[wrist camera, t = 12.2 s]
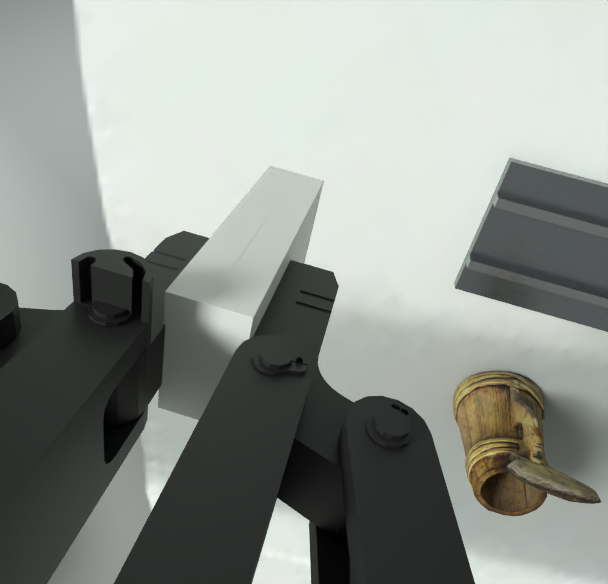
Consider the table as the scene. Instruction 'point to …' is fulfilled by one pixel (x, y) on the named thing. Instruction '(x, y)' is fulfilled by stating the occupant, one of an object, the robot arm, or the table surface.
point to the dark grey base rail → (543, 245)
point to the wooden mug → (509, 445)
